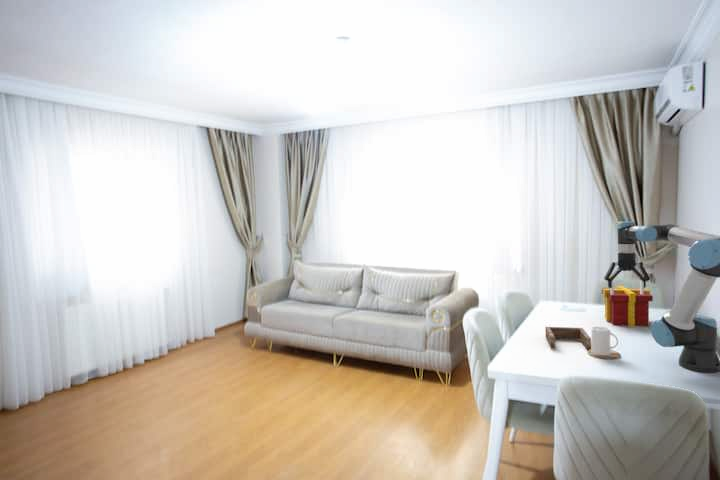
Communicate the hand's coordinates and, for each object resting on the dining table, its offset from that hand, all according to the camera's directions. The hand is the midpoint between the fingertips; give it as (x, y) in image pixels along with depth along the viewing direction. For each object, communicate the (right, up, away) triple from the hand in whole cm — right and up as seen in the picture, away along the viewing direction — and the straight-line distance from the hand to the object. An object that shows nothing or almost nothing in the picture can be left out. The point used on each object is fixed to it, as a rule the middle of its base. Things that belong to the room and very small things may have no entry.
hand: (626, 294), depth 222 cm
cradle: (-23, -28, +15) cm, 40 cm away
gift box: (+31, -24, +53) cm, 66 cm away
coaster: (-14, -29, -4) cm, 33 cm away
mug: (-14, -29, -4) cm, 32 cm away
